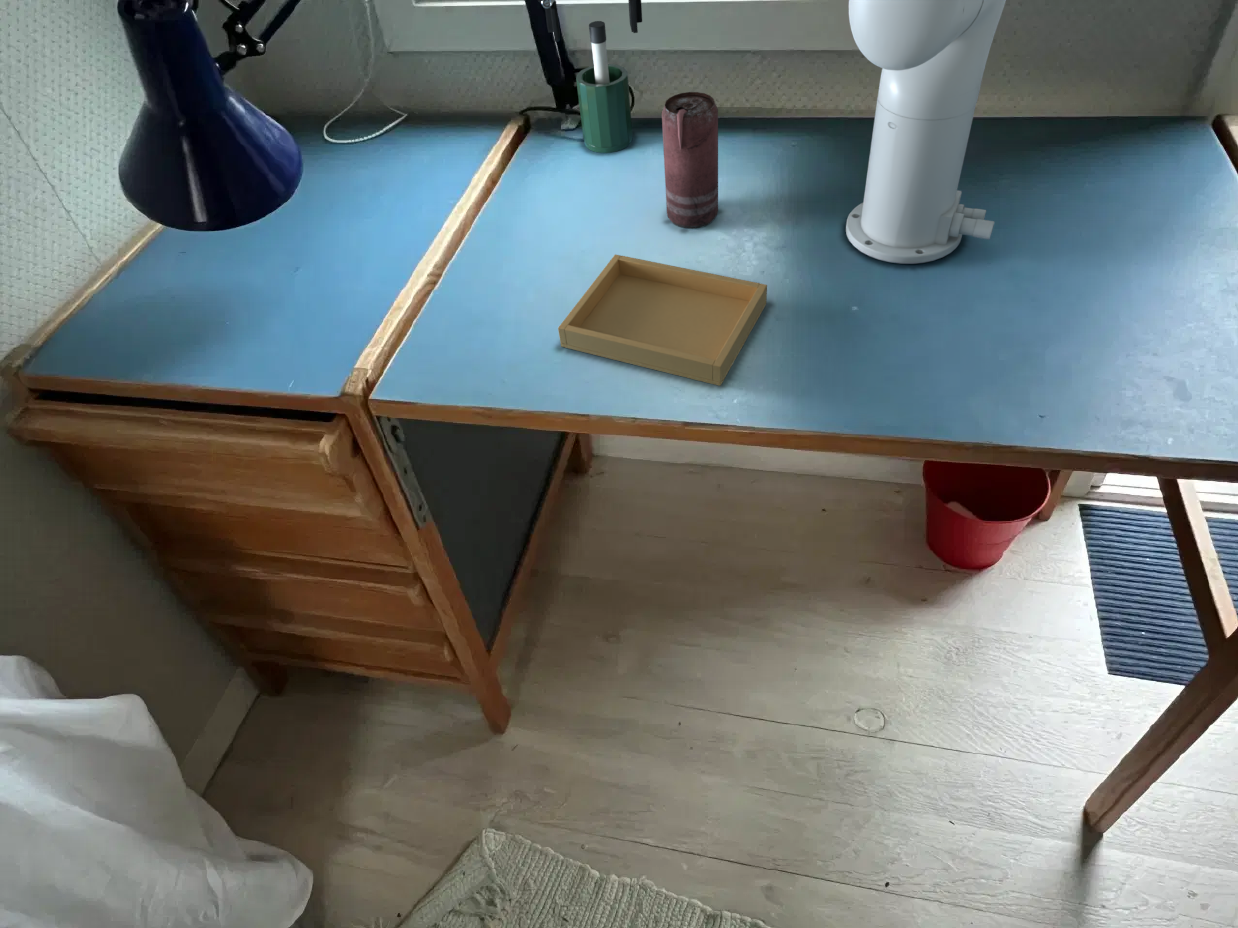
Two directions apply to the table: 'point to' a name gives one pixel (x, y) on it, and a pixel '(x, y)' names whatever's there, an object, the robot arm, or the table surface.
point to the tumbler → (605, 110)
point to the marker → (599, 51)
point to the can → (691, 159)
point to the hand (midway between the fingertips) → (595, 33)
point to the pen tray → (665, 318)
